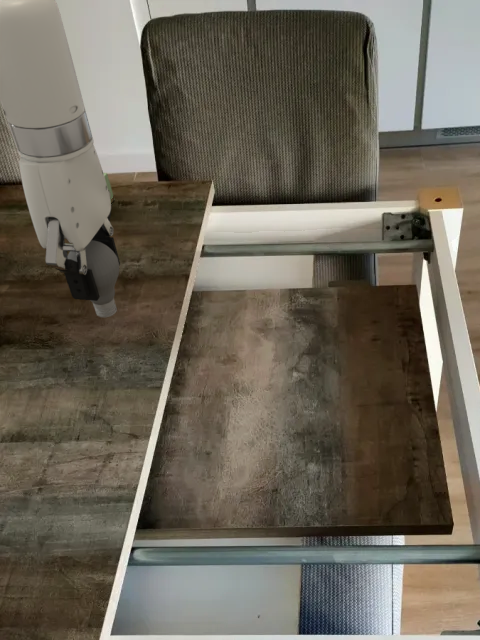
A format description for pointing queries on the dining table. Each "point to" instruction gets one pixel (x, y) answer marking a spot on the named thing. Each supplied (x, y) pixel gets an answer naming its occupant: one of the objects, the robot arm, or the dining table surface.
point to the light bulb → (102, 275)
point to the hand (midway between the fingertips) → (97, 280)
